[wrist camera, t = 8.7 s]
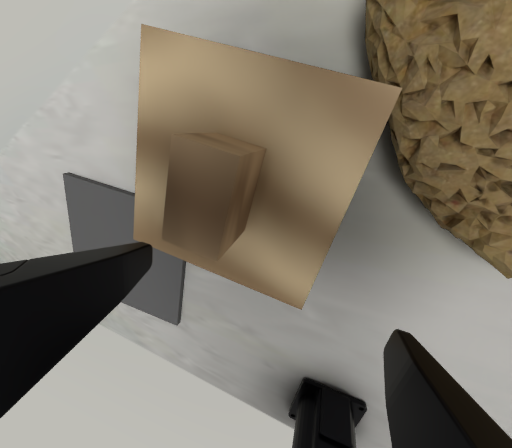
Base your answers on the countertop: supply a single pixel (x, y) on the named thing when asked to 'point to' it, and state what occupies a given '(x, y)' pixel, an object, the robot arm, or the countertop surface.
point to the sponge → (451, 111)
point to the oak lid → (249, 158)
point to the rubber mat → (119, 233)
